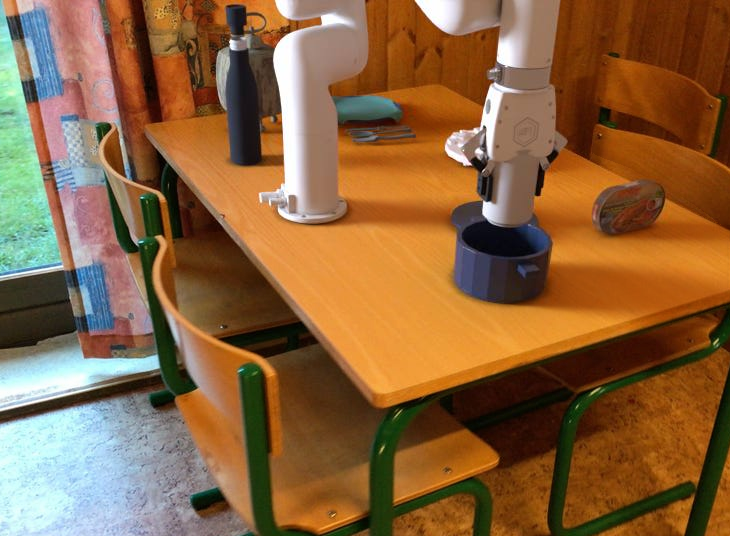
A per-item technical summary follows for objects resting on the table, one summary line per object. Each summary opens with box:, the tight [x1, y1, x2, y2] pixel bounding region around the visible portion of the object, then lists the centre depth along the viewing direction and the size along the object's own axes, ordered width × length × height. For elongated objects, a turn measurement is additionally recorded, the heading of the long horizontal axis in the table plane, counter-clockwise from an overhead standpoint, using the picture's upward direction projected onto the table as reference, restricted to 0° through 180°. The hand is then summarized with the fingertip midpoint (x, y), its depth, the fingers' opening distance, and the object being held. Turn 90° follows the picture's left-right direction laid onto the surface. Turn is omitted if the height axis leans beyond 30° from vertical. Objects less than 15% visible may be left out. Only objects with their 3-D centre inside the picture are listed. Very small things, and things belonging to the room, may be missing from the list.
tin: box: [591, 179, 666, 236], centre depth 149 cm, size 15×3×8 cm, turn 117°
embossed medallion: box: [444, 126, 483, 167], centre depth 180 cm, size 20×20×3 cm
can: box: [482, 150, 540, 227], centre depth 125 cm, size 8×8×12 cm
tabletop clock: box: [215, 11, 282, 134], centre depth 184 cm, size 14×9×25 cm, turn 122°
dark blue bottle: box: [224, 3, 263, 167], centre depth 166 cm, size 6×6×30 cm
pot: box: [453, 215, 554, 304], centre depth 132 cm, size 15×20×8 cm
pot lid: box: [450, 199, 539, 230], centre depth 150 cm, size 16×16×6 cm
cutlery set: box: [331, 94, 417, 144], centre depth 196 cm, size 20×30×2 cm, turn 15°
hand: (509, 195), depth 126 cm, fingers closed on can, 7 cm apart
